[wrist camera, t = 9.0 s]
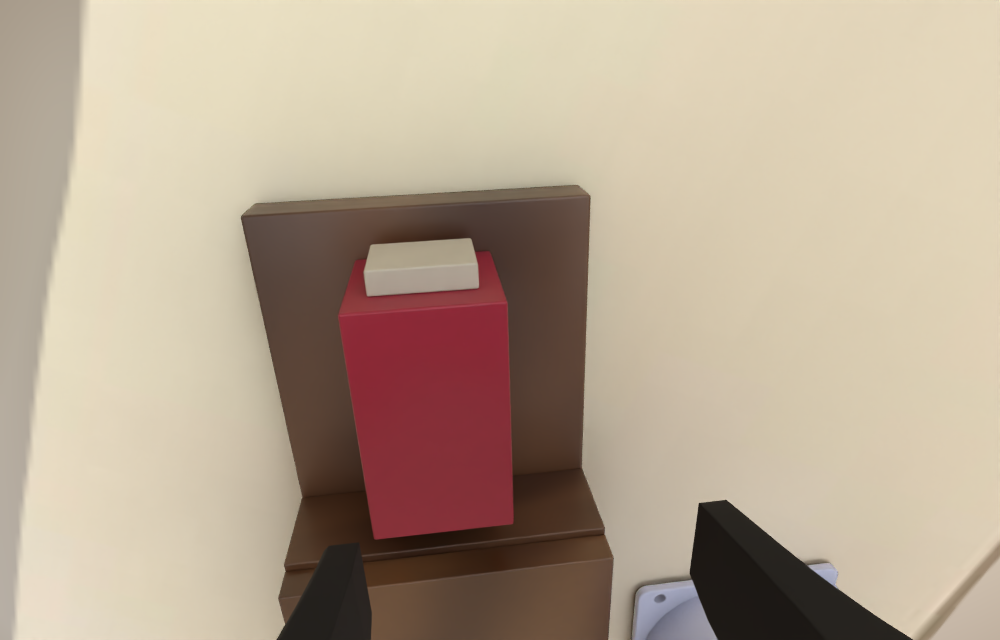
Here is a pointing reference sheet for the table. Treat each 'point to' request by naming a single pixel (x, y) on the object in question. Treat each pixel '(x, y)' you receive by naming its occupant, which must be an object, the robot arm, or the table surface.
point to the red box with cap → (430, 386)
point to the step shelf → (533, 398)
